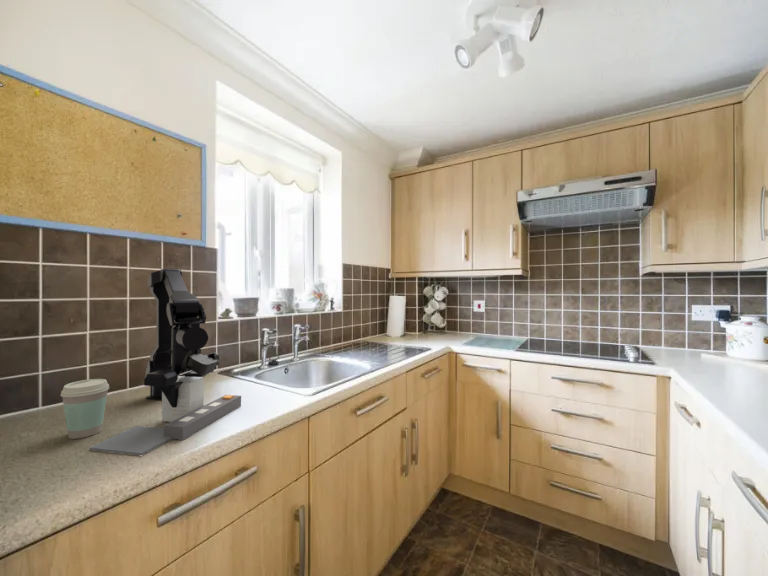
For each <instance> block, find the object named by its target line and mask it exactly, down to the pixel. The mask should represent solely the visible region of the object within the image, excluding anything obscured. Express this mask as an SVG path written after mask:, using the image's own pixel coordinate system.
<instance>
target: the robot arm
mask: <svg viewBox="0 0 768 576" xmlns="http://www.w3.org/2000/svg"><path fill="white" fill-rule="evenodd" d="M147 287H148V288H149V292H150V294H151V296H152V297H153V298H154V299H155V301H156V302H155V305H156V309H155V310H156V312H155V313H156V316H155V319H156V321H155V322H156V324H155V325H156V336H155V337H156V338H155V339H156V341H155V342H156V343H155V344H156V345H155V347H154V349H153V350H152V351H151V353H150V355H149V360H148V361H147V365H146V368H145V376H144V377H143V378H144V379H143V380H144V381H143V386H146V387H149V389H150V391H149V393H150V394H149V395H147V396H145V399H148V400H151V399H152V400H161V401H162V392H163V393H164V395H165V396H166V398H167V400H168V401H169V403H170V405H171V406H172V407H173V408H175V407H177V402H178V389H179V386H180V385H181V384H182V383H183V382H179V376H185V377H203V378H204V377H206V376H208V375H209V374H211V373H214V371H215V370H216V369H217V367H218V366H219V365H220V355H219V353H218V352H210V353H209V354H202V349H203V348H204V347H205V346H206V345H207V343H208V341H209V335H208V333H207V331H206V330H205V329H204V328H202V327H201V326H200V325H205V324H206V320H207V315H206V312H205V307H204V306H203V304H202V301H201V302H200V299H199V298H198V297H197V296H196V295H195V294H193V293H190V292H189V290H188V288H187V286H186V283H185V281H184V278H183V272H182V270H181V269H179V268H169V267H168V268H167V267H166V268H165V267H164V268H161V269H160V270H158V271H153V272H150V274H149V275H148V278H147Z"/></svg>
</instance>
